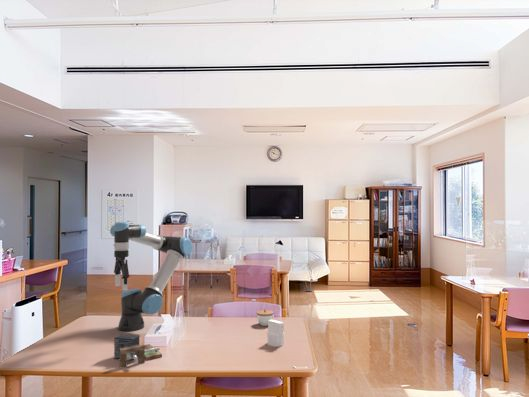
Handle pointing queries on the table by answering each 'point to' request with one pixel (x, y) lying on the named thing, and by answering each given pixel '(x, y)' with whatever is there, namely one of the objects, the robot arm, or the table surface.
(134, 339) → the small box
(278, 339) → the white upright cylinder
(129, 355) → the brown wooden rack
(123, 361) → the gauge bench
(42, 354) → the table surface
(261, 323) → the lidded jar
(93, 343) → the table surface
